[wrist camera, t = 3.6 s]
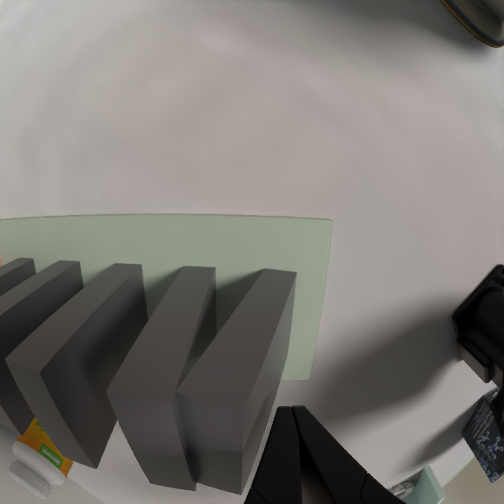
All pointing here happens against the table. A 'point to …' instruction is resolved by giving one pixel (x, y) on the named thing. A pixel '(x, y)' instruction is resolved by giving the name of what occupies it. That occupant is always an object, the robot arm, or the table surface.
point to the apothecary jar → (480, 18)
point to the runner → (191, 258)
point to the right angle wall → (420, 490)
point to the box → (486, 438)
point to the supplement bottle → (38, 461)
